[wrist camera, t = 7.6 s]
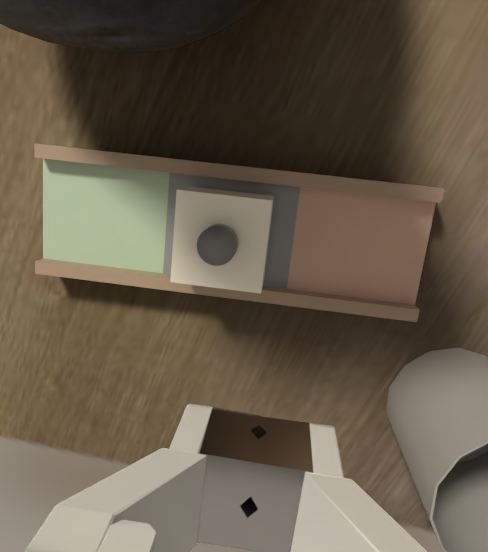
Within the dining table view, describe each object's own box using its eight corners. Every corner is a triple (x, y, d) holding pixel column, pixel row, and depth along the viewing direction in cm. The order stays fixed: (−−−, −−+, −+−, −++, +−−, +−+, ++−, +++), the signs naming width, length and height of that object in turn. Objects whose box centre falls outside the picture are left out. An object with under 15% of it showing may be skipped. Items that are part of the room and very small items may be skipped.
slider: (191, 186, 28) (170, 190, 23) (274, 195, 27) (271, 202, 22) (185, 266, 29) (164, 287, 24) (264, 276, 28) (259, 299, 23)
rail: (55, 145, 30) (34, 143, 27) (431, 186, 28) (444, 188, 26) (54, 265, 31) (35, 273, 29) (406, 309, 30) (416, 322, 28)
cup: (395, 342, 31) (446, 423, 21) (522, 352, 30) (635, 441, 20) (380, 452, 33) (419, 573, 23) (499, 464, 32) (591, 593, 22)
